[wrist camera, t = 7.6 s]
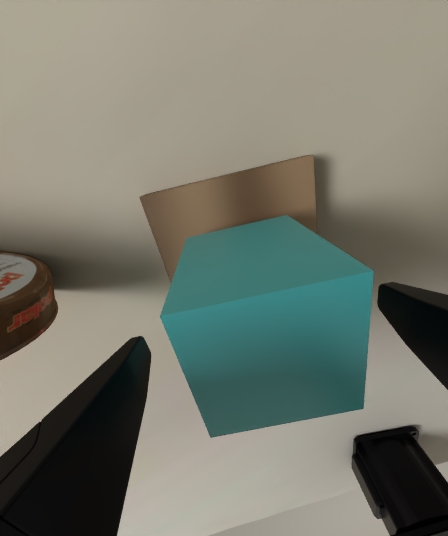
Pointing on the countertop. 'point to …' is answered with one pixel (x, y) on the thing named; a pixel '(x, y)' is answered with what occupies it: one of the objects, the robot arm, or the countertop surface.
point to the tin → (24, 301)
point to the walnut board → (230, 204)
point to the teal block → (269, 325)
